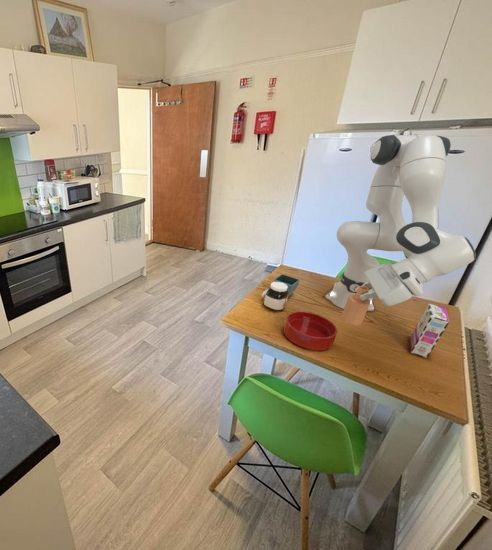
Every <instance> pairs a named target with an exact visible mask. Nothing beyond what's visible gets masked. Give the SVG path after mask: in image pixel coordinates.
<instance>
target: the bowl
mask: <svg viewBox="0 0 492 550" xmlns="http://www.w3.org/2000/svg"><path fill="white" fill-rule="evenodd" d="M283 334H284V335H285V337H286V338H287V339H288V340H289V342H291V343H293V344H295V345H296V346H298V347H301V348H304V349H306V350H311V351H325V350H329V349H330V348H332V347H333V345H334V342H335V339H336V337H337V334H338V328H337V326H336V325H335V324H334V323H333V322H332V321H331V320H329V319H328V318H326V317H325V316H323V315H320V314H317V313H314V312H310V311H293V312H290V313H288V314H287V316H286V318H285V321H284V325H283Z"/></svg>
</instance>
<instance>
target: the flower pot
mask: <svg viewBox="0 0 492 550" xmlns="http://www.w3.org/2000/svg"><path fill="white" fill-rule="evenodd" d="M300 281H301V279H299V278H296V277H294V276H293V277H292V276H289V275H287V274H284V273H280V275H278V276H276V277H275V278H274V279H273V282H281V283H284V284H286V285H287V286H288V288H287V290H288V298H289V297H290V296H291V295H293V294H294V293H295V291H296V290H297V288H298V286H299V283H300Z"/></svg>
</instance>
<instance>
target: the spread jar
mask: <svg viewBox="0 0 492 550" xmlns="http://www.w3.org/2000/svg"><path fill="white" fill-rule="evenodd" d="M287 288H288V286H287V285H286V284H284V283H281V282H274V281H273V282H271V283H270V287H268V289H265V290H264V291H263V292H262V294H261V297H262V299H263V305H264V306H265V308H267V309H268V310H270V311H272V312H280V311H283V309H284V308H285V306H286V305H287V302H288V298H289V297H288V290H287Z"/></svg>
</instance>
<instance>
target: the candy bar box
mask: <svg viewBox="0 0 492 550" xmlns="http://www.w3.org/2000/svg"><path fill="white" fill-rule="evenodd" d="M449 324H450V318H449V315H448V311H447V307H444V306H441V305H437V304H433V303H428V304H427V306H426V308H425V310H424V312H423V313H422V315H421V317H420V319H419V321H418V323H417V324H416V326H415V328H414V329H413V332H412V333H411V335H410V337H409V344H410V346H409V347H410V354H413V355H415V356H416V355H417V356H419V357H422V358H425V359H428V358H429V356H430V355H431V353H432V352H433V350H434V348H435V347H436V345H437V344H438V342H439V340H440V338H441V337H442V335H443V334H444V332H445V330H446V329H447V327H448V325H449Z"/></svg>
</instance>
